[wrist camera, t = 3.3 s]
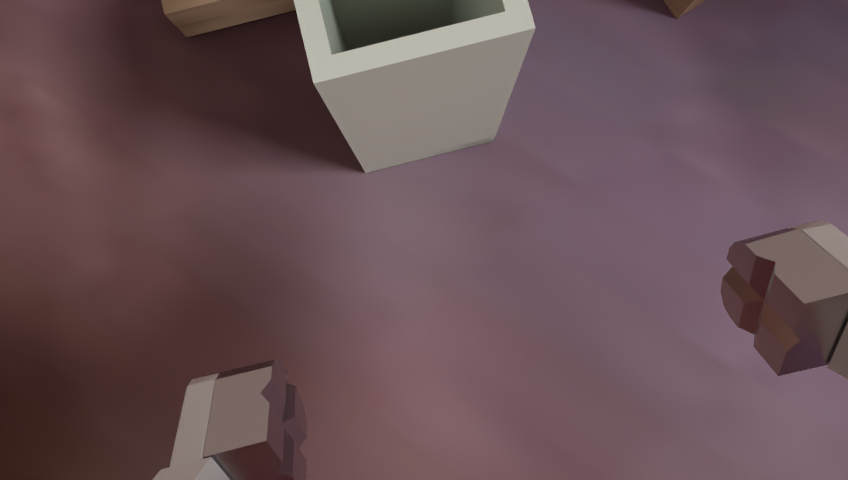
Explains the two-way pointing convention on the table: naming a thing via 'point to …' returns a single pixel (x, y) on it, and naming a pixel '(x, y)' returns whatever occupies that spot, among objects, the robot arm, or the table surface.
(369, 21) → the sage cup
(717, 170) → the table surface
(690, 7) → the walnut block
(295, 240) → the table surface
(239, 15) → the birch tray
